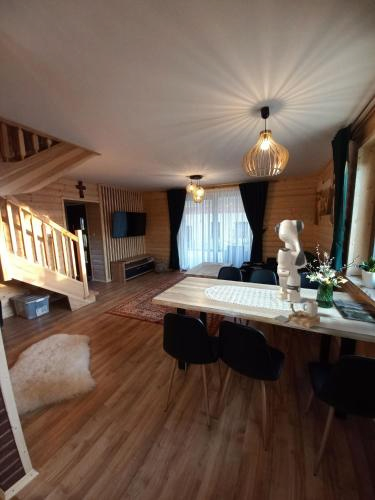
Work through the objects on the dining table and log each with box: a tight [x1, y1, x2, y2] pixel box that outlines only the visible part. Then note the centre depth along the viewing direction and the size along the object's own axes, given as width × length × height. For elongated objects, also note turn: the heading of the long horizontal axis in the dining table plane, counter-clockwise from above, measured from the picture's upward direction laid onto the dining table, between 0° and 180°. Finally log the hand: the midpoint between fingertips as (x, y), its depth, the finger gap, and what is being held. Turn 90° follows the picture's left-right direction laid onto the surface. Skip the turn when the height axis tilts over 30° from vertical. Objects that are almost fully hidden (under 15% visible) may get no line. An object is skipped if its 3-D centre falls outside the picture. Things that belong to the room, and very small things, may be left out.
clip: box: [289, 302, 297, 315], centre depth 145 cm, size 15×3×3 cm, turn 161°
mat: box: [273, 315, 291, 324], centre depth 144 cm, size 8×8×1 cm
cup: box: [301, 300, 319, 316], centre depth 153 cm, size 7×10×9 cm
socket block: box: [287, 310, 321, 329], centre depth 140 cm, size 14×14×5 cm
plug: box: [279, 287, 289, 301], centre depth 142 cm, size 6×6×9 cm
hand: (283, 290), depth 142 cm, fingers closed on plug, 4 cm apart
